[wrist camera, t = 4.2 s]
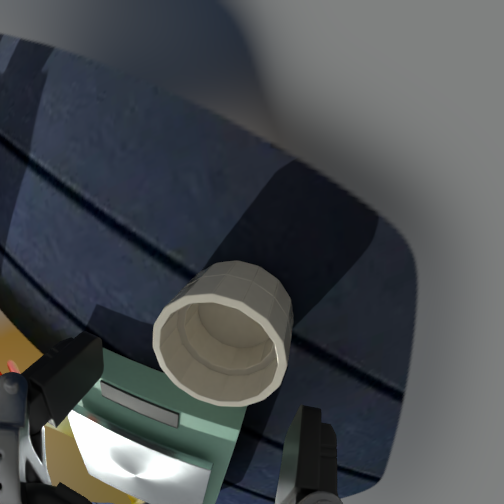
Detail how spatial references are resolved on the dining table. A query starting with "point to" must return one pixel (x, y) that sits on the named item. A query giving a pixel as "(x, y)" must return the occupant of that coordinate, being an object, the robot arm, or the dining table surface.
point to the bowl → (226, 335)
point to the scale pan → (138, 462)
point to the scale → (165, 414)
